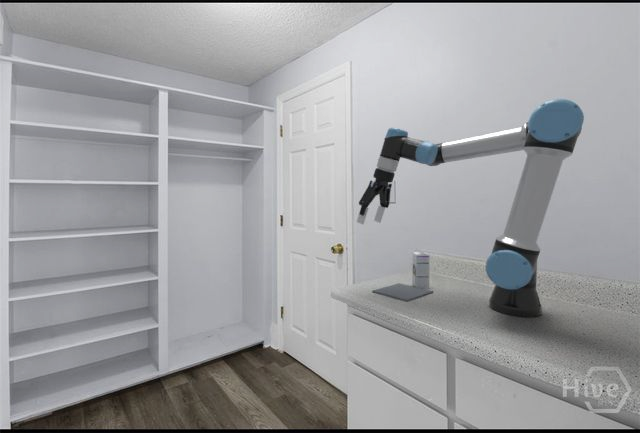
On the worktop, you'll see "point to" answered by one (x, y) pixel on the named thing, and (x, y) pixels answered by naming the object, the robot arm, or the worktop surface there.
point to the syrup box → (421, 270)
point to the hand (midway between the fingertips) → (368, 222)
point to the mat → (402, 292)
